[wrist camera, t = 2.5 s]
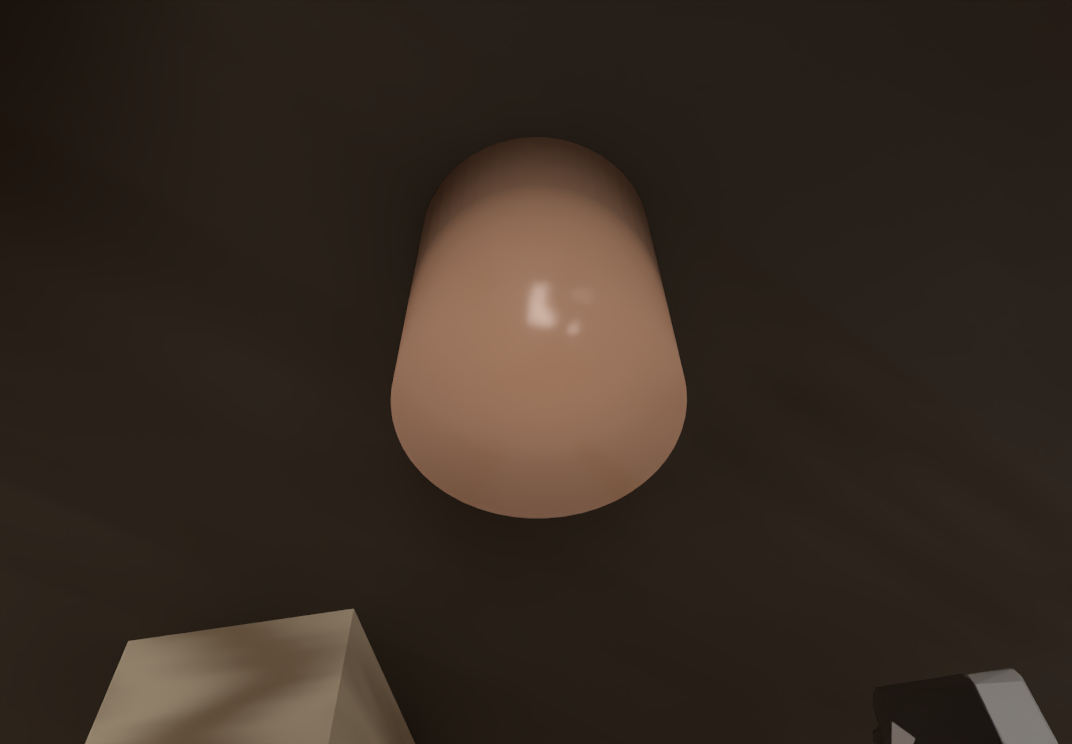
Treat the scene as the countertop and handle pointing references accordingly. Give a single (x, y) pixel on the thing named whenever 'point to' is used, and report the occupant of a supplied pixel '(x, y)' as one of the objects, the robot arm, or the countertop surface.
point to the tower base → (253, 687)
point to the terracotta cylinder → (537, 336)
